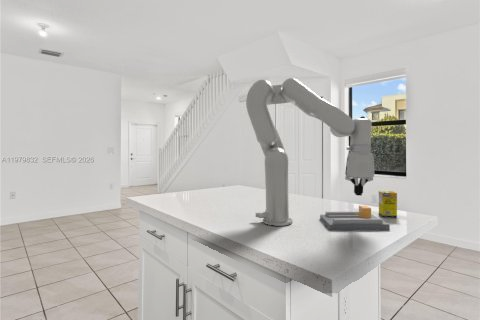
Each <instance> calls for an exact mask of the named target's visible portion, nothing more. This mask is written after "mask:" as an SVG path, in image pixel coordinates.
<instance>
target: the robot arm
mask: <svg viewBox="0 0 480 320" xmlns="http://www.w3.org/2000/svg"><path fill="white" fill-rule="evenodd" d="M289 103H291V104H293V105H294V106H296V107H297V108H298V109H299V110H300V111H302V112H303V113H304V114H306V115H307V116H309V117H312V118H315V119H317V120H320V121H321V122H322V123H323V124H326V125H327V126H328V127H329V130H330V133H331V134H332V135H333V136H334V137H336V138H346V137H350V140H349V141H350V145H349V146H346V150H347V151H349V152H348V154H347V157H346V162H345V170H344V172H345V177H344V179H345V180H346V181H349V182H351V183H352V185H353V186H354V187H353V188H354V189H353V193H354V195H356V196H363V193H364V186H365V185H366V184H367V183H368V182H373V181H374V177H375V159H374V155H373V153H371V147H372V145H371V144H372V125H373V124H372V120H371V119H369V118H354V119H352V117H351V116H349V115H348V114H347V113H345V111H343V110H342V109H340V108H339V107H337V106H336V105H334V104H332V103H330V102H329V101H327V100H326V99H324V98H321V96H319V95H318V94H317V93H315V92H314V91H312V90H311V89H310V88H309V87H307V86H306V85H304V84H303V83H302V82H301V81H300V80H298V79H296V78H295V77H289V78H286V79H285V80H284V81H283V83H282V84H275V85H272V84H271V82H270V81H268V80H266V79H259V80H257V81H255V82H254V83H253V84H252V85H251V86H250V88H249V90H248V91H247V94H246V100H245V105H246V106H245V107H246V111H247V114H248V118H249V120H250V123H251V126H252V128H253V131H254V134H255V138H256V141H257V142H258V143H259V145H260V148H261V151H262V152H263V155H264V175H265V181H264V183H265V210H264V211H262V212H255V218H258V219H262V223H263V222H264V223H265V224H264V223H263V224H264V225H267V224H268V225H267V226H271V225H274V226H273V227H283V226H284V227H285V226H290V225H291V224H292V223H293V219H292V218H290V216H289V215H290V214H289V213H290V212H289V211H290V210H289V208H290V207H289V157H288V154H287V152H286V149H285V147H284V144H283V143H282V139H281V137H280V133H279V132H278V129H277V128H276V126H275V124H274V122H273V120H272V117H271V114H270V112H269V108H268V105H269V106H270V105H277V104H278V105H279V104H280V105H281V104H289Z"/></svg>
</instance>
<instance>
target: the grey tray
mask: <svg viewBox="0 0 480 320" xmlns="http://www.w3.org/2000/svg"><path fill="white" fill-rule="evenodd" d="M324 215H326V216H337V215H359V210H358V211H357V210H356V211H355V210H354V211H353V210H351V211H346V210H345V211H325V214H324ZM383 221H384V219H382V218H380V217H377V218H358V219H333V223H334V224H383Z"/></svg>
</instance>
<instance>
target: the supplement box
mask: <svg viewBox="0 0 480 320" xmlns="http://www.w3.org/2000/svg"><path fill="white" fill-rule="evenodd" d="M378 215H380V216H381V217H382V218H394V219H395V218H398V193H397V192H396V191H392V190H378Z"/></svg>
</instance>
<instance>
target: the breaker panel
mask: <svg viewBox="0 0 480 320" xmlns="http://www.w3.org/2000/svg"><path fill="white" fill-rule="evenodd" d="M358 218H359V215H337V216H326V215H325V214H320V215H319V219H320V221H321V222H322V223H323V224H324V225H325V226H326V227H327V228H328V230H330V231H353V230H354V231H359V230H360V231H363V230H364V231H379V230H381V231H383V230H384V231H386V230H388V231H390V225H391V224H390V223H388V222H386V221H384V220H383V224H334V223H333V219H358ZM371 218H378V216H375V215H374V214H373V213H371Z"/></svg>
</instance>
